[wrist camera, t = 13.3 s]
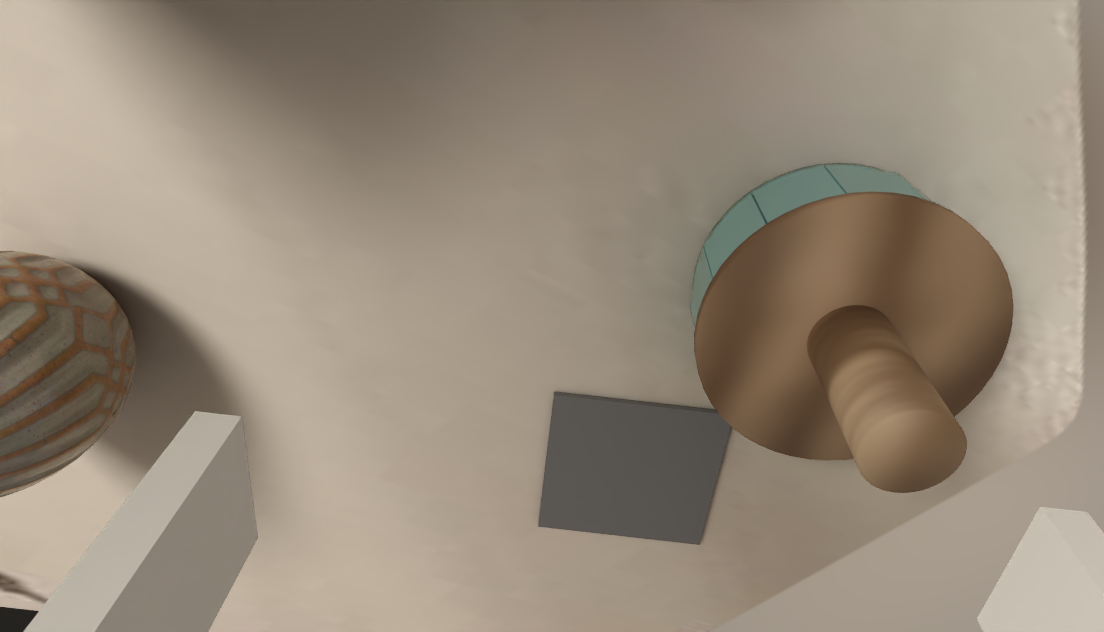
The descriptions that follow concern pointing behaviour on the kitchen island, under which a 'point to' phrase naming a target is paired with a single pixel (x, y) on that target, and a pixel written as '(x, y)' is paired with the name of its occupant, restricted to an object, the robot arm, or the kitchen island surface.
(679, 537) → the mat
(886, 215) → the lid
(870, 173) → the bowl
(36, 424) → the vase
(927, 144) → the kitchen island surface
